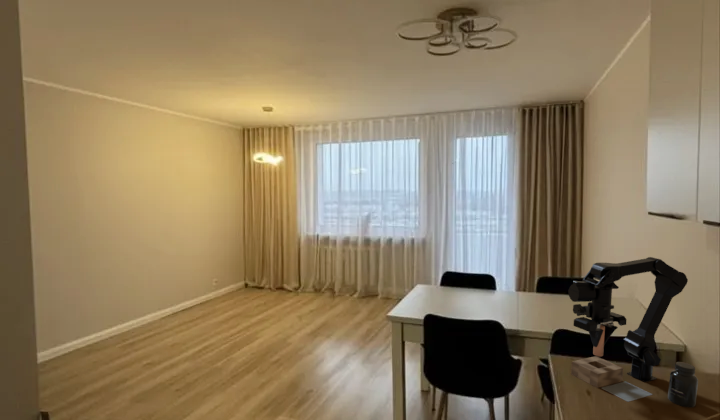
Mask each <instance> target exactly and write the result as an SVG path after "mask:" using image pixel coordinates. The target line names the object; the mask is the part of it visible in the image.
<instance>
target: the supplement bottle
mask: <svg viewBox="0 0 720 420" xmlns="http://www.w3.org/2000/svg"><path fill="white" fill-rule="evenodd" d="M695 374H696V367H695V365H692V364H690V363H687V362H683V361H677V362H675V365H674V370H671V372H670V373H669V382H668V390H667V399H668V400H669V401H670V402H671V403H672V404H675V405H677V406H681V407H684V408H694V407H696V403H697V393H698V385H699V379H698V377H697V376H696V375H695Z"/></svg>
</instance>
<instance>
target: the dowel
mask: <svg viewBox="0 0 720 420" xmlns="http://www.w3.org/2000/svg"><path fill="white" fill-rule="evenodd" d="M600 329H602V330H603V333H602V335H601V338H600V341H599V344H598V346H597V347H594V346H593V348H592V354H593V355H594V356H597V357H603V356H604V348H605V345H604V335H605V326H603V325H600Z"/></svg>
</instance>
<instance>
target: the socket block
mask: <svg viewBox="0 0 720 420" xmlns="http://www.w3.org/2000/svg"><path fill="white" fill-rule="evenodd" d="M623 372H624V368H623V367H622V366H619V365H617V364H615V363H612V362H611V361H609V360H606V359H604V358H601V357H600V356H596V355H594V356H591V357H585V358H581V359H577V360H573V361H571V368H570V374H571V375H572V376H573V377H574V378H578V379H579V380H581V381H583V382H585V383H587V384H589V385H590V386H592V387H595V388H596V389H597V388H602V387H606V386H610V385H614V384H618V383H621V382H623V377H624V376H623V374H624V373H623Z"/></svg>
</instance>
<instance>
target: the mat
mask: <svg viewBox="0 0 720 420" xmlns="http://www.w3.org/2000/svg"><path fill="white" fill-rule="evenodd" d="M601 389H602V390H604V391H606V392H607V393H610V394H612V395H614V396H616V397H618V398H620V399H621V400H623V401H625V402H633V401H635V400H639V399H644V398H646V397H650V396H652V395H653V393H651V392H649V391H646V390H645V389H642V388H641V387H638V386H636V385H634V384H633V383H629V382H628V381H622V382H618V383H614V384H610V385H606V386H602V387H601Z"/></svg>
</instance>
